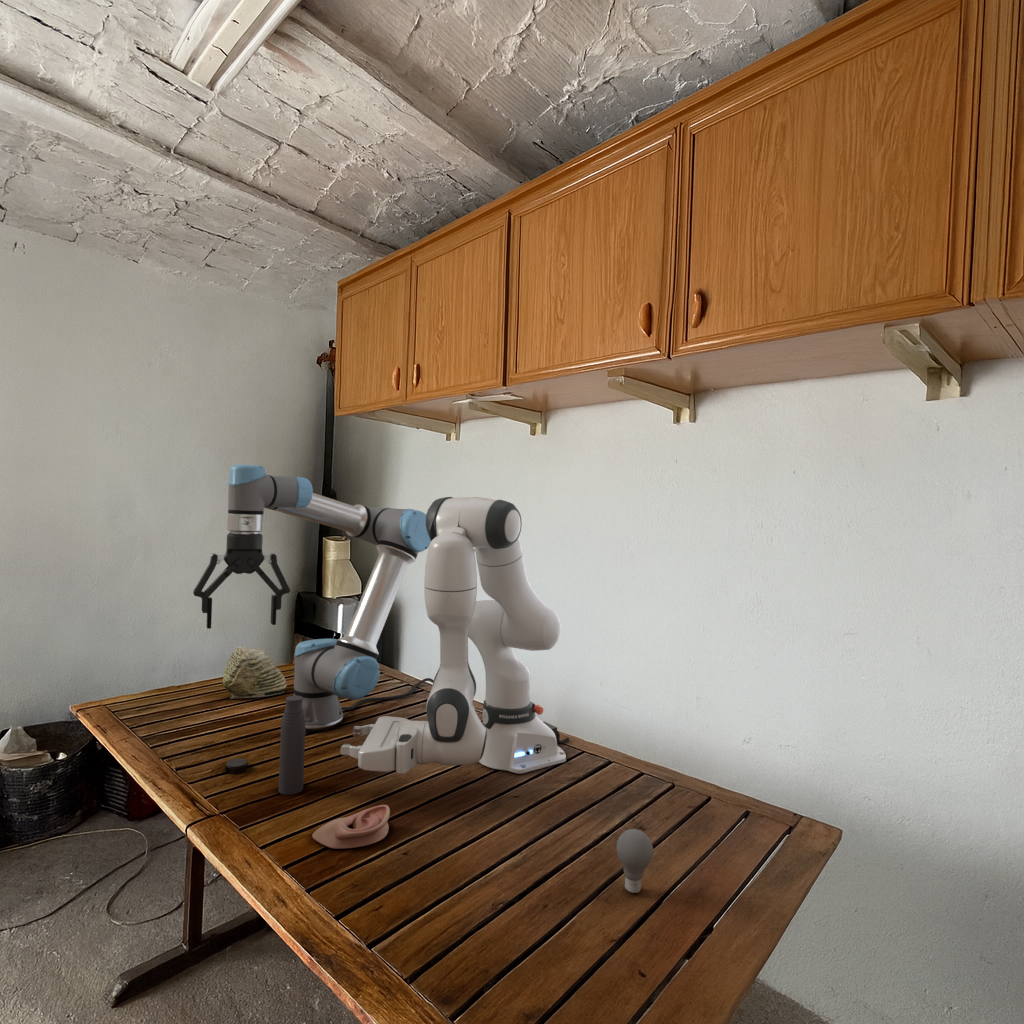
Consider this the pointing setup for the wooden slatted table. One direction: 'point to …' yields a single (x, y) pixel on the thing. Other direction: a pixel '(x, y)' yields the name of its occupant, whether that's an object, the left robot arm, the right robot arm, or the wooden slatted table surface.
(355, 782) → the wooden slatted table surface
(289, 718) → the bottle
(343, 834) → the anatomical model
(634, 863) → the light bulb
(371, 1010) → the wooden slatted table surface
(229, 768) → the cap
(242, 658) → the fossil
